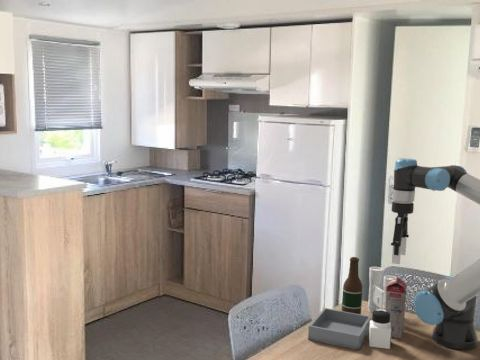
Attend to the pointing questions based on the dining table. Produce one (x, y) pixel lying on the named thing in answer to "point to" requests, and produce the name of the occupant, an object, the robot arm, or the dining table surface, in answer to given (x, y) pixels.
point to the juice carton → (396, 305)
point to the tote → (339, 328)
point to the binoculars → (377, 289)
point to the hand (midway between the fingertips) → (398, 259)
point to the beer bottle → (352, 289)
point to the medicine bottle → (380, 329)
